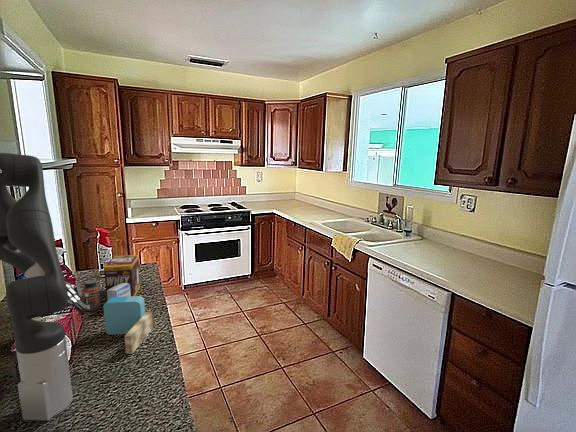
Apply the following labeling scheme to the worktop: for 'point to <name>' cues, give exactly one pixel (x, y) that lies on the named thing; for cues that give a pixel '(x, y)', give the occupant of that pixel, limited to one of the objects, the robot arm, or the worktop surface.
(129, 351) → the birch board
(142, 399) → the worktop surface
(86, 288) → the supplement bottle
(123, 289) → the medicine box
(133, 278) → the supplement box
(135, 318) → the blue rounded block
